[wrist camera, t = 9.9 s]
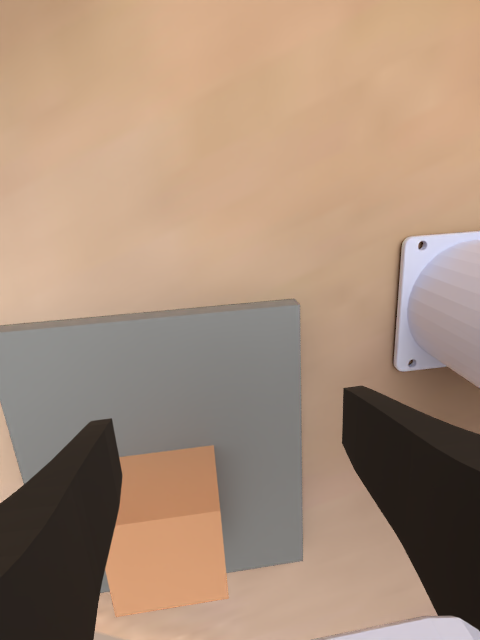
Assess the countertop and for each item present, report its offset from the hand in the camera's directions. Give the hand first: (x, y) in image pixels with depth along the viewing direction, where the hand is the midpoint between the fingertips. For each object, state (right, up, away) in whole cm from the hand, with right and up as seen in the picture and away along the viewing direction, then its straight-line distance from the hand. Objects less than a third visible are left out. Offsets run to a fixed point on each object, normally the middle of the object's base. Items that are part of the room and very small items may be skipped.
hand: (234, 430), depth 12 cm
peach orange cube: (-4, -7, +11) cm, 14 cm away
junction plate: (-4, -5, +12) cm, 14 cm away
